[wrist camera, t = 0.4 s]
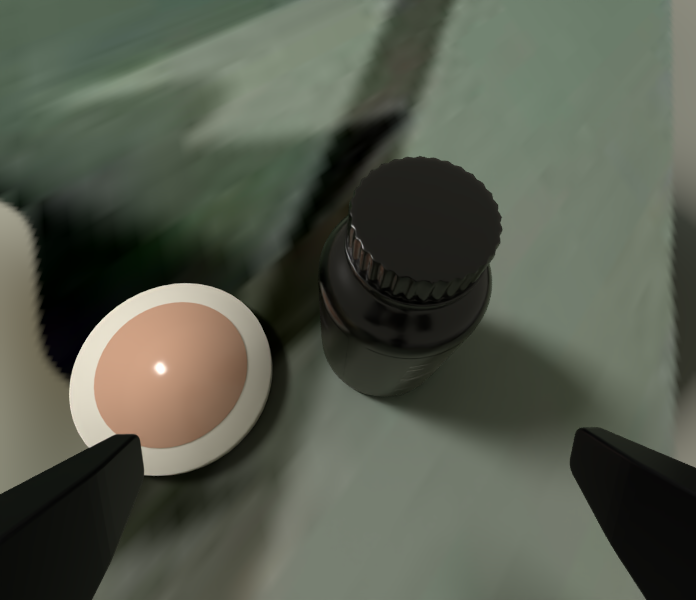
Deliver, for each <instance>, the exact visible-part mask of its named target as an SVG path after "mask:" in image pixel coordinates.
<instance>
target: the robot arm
mask: <svg viewBox="0 0 696 600" xmlns="http://www.w3.org/2000/svg"><path fill="white" fill-rule="evenodd" d="M570 468H571V471H572V474H573V476H574V478H575V480H576V481H577V483H578V485H579V487H580V489H581V491H582V493H583V495H584V496H585V498H586V500H587V502H588V504H589V506H590V508H591V509H592V511H593V513H594V515H595V517H596V519H597V521H598V523H599V524H600V526H601V528H602V530H603V532H604V534H605V535H606V537H607V539H608V541H609V542H610V544H611V546H612V547H613V549H614V551H615V552H616V554H617V555H618V557H619V559H620V560H621V562H622V563H623V565H624V566H625V568H626V569H627V571H628V572H629V574H630V575H631V577H632V579H633V580H634V582H635V583H636V585H637V586H638V588H639V589H640V591H641V592H642V594H643V595H644V597H645V598H646V600H696V468H695V467H693V466H690V465H688V464H685V463H683V462H681V461H678V460H676V459H674V458H671V457H669V456H666V455H664V454H662V453H659V452H657V451H654V450H652V449H650V448H647V447H645V446H643V445H640V444H638V443H635V442H633V441H631V440H628V439H626V438H623V437H621V436H619V435H616V434H614V433H611V432H609V431H607V430H604V429H602V428H598V427H583V428H579V429H578V430H577V431H576V433H575V437H574V442H573V447H572V452H571V457H570ZM143 478H144V464H143V456H142V449H141V442H140V438H139V436H137V435H136V434H115V435H113V436H111V437H109V438H107V439H105V440H103V441H101V442H99V443H97V444H95V445H94V446H92V447H90V448H88V449H86V450H84V451H82V452H80V453H78V454H76V455H74V456H73V457H71V458H69V459H67V460H65V461H63V462H61V463H59V464H57V465H55V466H53V467H52V468H50V469H48V470H46V471H44V472H42V473H40V474H38V475H36V476H34V477H32V478H30V479H29V480H27V481H25V482H23V483H21V484H19V485H17V486H15V487H13V488H12V489H9V490H8V491H6V492H4V493H2V494H0V600H92V599H93V597H94V595H95V593H96V591H97V589H98V587H99V585H100V583H101V581H102V579H103V577H104V575H105V573H106V571H107V569H108V567H109V565H110V562H111V560H112V558H113V556H114V553H115V551H116V549H117V546H118V544H119V541H120V538H121V536H122V533H123V531H124V528H125V526H126V523H127V520H128V518H129V515H130V513H131V510H132V508H133V505H134V502H135V500H136V497H137V495H138V492H139V490H140V487H141V484H142V482H143Z"/></svg>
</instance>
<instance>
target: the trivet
mask: <svg viewBox="0 0 696 600" xmlns="http://www.w3.org/2000/svg"><path fill="white" fill-rule="evenodd" d="M272 376H273V363H272V355H271V350H270V347H269V343H268V340H267V338H266V335H265V333H264V331H263V329H262V326H261V325H260V323H259V321H258V320H257V318H256V317H255V315H254V314H253V313H252V312H251V311H250V309H249V308H248V307H247V306H245V305H244V304H243V303H242V302H241V301H240V300H238V299H237V298H235V297H234V296H232V295H230V294H228V293H226V292H224V291H222V290H220V289H217V288H214V287H211V286H206V285H201V284H189V283H184V284H171V285H165V286H161V287H157V288H153V289H150V290H148V291H145V292H142V293H140V294H138V295H136V296H134V297H132V298H130V299H128V300H127V301H125V302H124V303H122V304H120V305H119V306H117V307H116V308H115V309H114V310H112V311H111V312H110V313H109V314H107V315H106V316H105V317H104V318H103V319H102V320H101V321H100V322H99V323H98V325H97V326H96V327H95V328H94V330H93V331H92V332H91V333H90V335H89V336H88V338H87V339H86V341H85V343H84V344H83V346H82V348H81V350H80V352H79V354H78V356H77V358H76V361H75V364H74V367H73V371H72V375H71V380H70V392H69V399H70V409H71V413H72V418H73V421H74V424H75V426H76V429H77V431H78V433H79V435H80V436H81V438H82V439H83V441H84V443H85V444H86V445H87V446H88V447H89V448H90V447H92V446H94V445H95V444H97V443H99V442H101V441H103V440H105V439H107V438H109V437H111V436H113V435H115V434H136V435H137V436H139V438H140V442H141V449H142V456H143V464H144V475H152V476H166V475H177V474H182V473H187V472H191V471H194V470H197V469H199V468H202V467H205V466H207V465H209V464H211V463H213V462H215V461H217V460H218V459H220V458H221V457H223V456H224V455H226V454H227V453H229V452H230V451H231V450H232V449H233V448H234V447H236V446H237V445H238V444H239V443H240V442H241V441H242V440H243V439H244V438H245V437H246V436H247V434H248V433H249V432H250V431H251V429H252V428H253V426H254V425H255V424H256V422H257V421H258V419H259V417H260V415H261V413H262V412H263V409H264V407H265V405H266V402H267V400H268V396H269V392H270V389H271V383H272Z"/></svg>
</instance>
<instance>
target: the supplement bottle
mask: <svg viewBox="0 0 696 600" xmlns="http://www.w3.org/2000/svg"><path fill="white" fill-rule="evenodd" d="M501 218H502V217H501V215H500V213H499V212H498V204H497V203H496V202H495V201H494V200H493V196H492V193H491V192H489V191H488V190H487V189H486V188H485V186H484V184H483V183H482V182H480V181H479V180H477V179H476V178H475V176H474V175H473V174H471V173H469V172H466V171H465V170H464V169H463V168H462V167H460V166H456V165H453V164H451V163H450V162H449V161H441V160H439V159H437V158H425V157H422V156H419V157H416V158H412V157H405V158H403V159H394V160H392V161H391V162H389V163H385V164H381V165H380V166H379V168H377V169H374V170H371V171H370V173H369V175H368V176H367V177H365V178H363V179H362V180H361V183H360V185H359V186H358V187H357V188H356V189H355V190H354V195H353V198H352V199H351V201H350V204H349V214H348V216H347V217H345V218H344V219H343V220H342V221H341V222H340V223H339V224H338V225H337V226H336V227H335V229H334V230H333V231H332V233H331V234H330V236H329V237H328V239H327V241H326V243H325V245H324V247H323V250H322V253H321V257H320V262H319V274H318V281H319V301H320V319H321V336H322V344H323V349H324V353H325V356H326V359H327V361H328V363H329V365H330V366H331V368H332V370H333V371H334V372H335V374H336V375H337V376H338V377H339V378H340V379H341V380H342V381H343V382H344V383H346V384H347V385H348V386H350V387H352V388H353V389H355V390H357V391H359V392H362V393H364V394H368V395H372V396H378V397H391V396H397V395H401V394H404V393H407V392H409V391H411V390H413V389H415V388H417V387H418V386H420V385H421V384H422V383H424V382H425V381H426V380H427V379H428V378H429V377H430V376H431V375H432V374H433V373H434V372H435V371H436V370H437V369H438V368H439V367H440V366H441V365H442V364H443V363H444V362H445V361H446V360H447V358H448V357H449V356H450V355H451V354H452V353H453V352H454V351H455V350H456V349H457V348H458V347H459V346H460V345H461V344H462V343H463V342H464V341H465V340H466V339H467V338H468V337H469V336H470V334H471V333H472V332H473V331H474V330H475V328H476V327H477V326H478V324H479V323H480V321H481V320H482V318H483V316H484V314H485V312H486V310H487V307H488V305H489V301H490V297H491V291H492V275H491V268H490V262H491V260H492V259H493V258H494V256H495V251H496V249H497V248H498V246H499V244H500V234H501V232H502V226H501V224H500V222H501Z"/></svg>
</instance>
